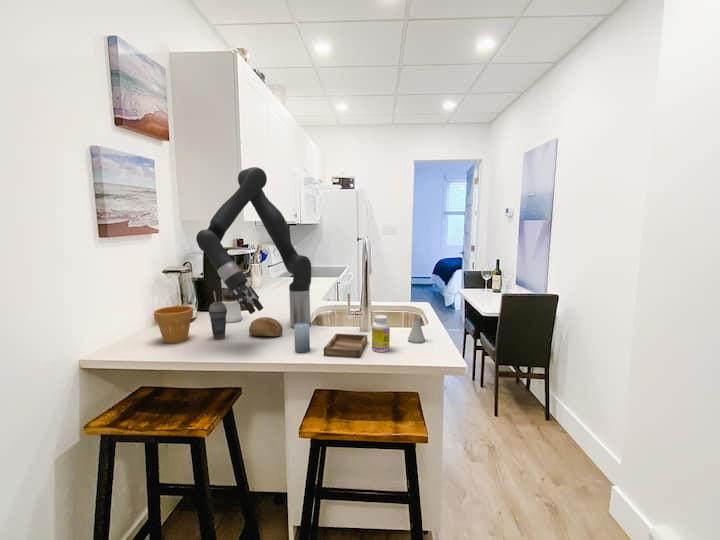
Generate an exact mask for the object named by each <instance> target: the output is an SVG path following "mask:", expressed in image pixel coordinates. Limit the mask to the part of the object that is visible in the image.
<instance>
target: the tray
mask: <svg viewBox="0 0 720 540" xmlns="http://www.w3.org/2000/svg"><path fill="white" fill-rule="evenodd" d="M366 343H368V335H367V334H351V333H335V334H334V336H333V337H331V339H330V340H329V342H327V344H325V346H324V347H323V356H324V357H335V358H352V359H353V358H354V359H359V358H360V357H361V355H362V353H363V351H364V349H365V347H366V345H367V344H366Z"/></svg>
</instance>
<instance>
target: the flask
mask: <svg viewBox="0 0 720 540" xmlns="http://www.w3.org/2000/svg"><path fill="white" fill-rule="evenodd" d="M412 318H413V324H412V328H411V329H410V333H409V334H408V335H409V336H408V337H407V342H409V341H410V342H411V343H415V344H416V343H417V344H422V343H425V342H426V338H425V335H424V333H423V329H422V325H421V319H422V318H421V316H419V315H413V316H412ZM424 341H425V342H424Z"/></svg>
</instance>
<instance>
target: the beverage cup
mask: <svg viewBox="0 0 720 540" xmlns="http://www.w3.org/2000/svg"><path fill="white" fill-rule="evenodd" d="M213 298H214V301H213V302H212V303H211V304H210V306H209V308H208V315H209V317H210V323H211V324H210V325H211V332H212V336H213V339H214V340H223V339H225V338H226V326H227V323H226V314H227V308H226V306H225V304H224V303H222V301H220V300H219V301H217V297H216V291H215V290H214V291H213ZM222 338H223V339H222Z"/></svg>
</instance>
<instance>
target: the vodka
mask: <svg viewBox="0 0 720 540" xmlns="http://www.w3.org/2000/svg"><path fill="white" fill-rule="evenodd" d="M220 283H221V291H222V293H221V294H222V295H221V296H222V301H221V302H222V303H224V304H225V306H226V308H227V314H226V324H230V323H231V324H233V323H238V322H241V320H242V318H243V315H242V310H241V305H240V304H239V303H238V301H237V300H236V298H235V297H234V295H233V294H232V292H231V291H230V290H229V289H228V287H227V286H226V284H225V283H224V282H223V280H222V279H220Z"/></svg>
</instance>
